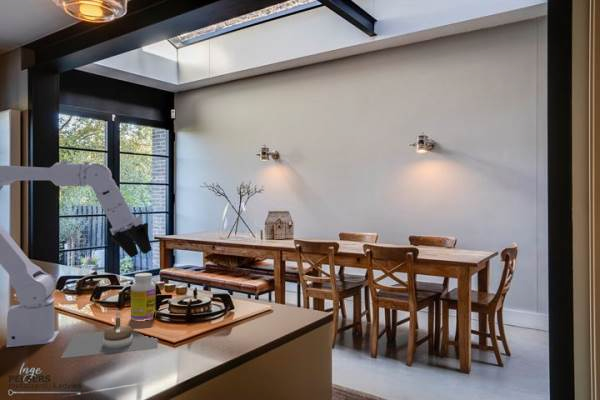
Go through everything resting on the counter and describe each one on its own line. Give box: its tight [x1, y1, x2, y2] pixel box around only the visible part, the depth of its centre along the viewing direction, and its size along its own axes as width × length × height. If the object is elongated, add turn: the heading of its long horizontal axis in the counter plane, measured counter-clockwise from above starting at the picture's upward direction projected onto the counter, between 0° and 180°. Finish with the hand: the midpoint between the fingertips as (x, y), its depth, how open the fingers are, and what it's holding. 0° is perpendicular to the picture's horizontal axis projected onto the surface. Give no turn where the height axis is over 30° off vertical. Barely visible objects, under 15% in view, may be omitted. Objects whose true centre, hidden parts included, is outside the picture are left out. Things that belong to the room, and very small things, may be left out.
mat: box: [60, 330, 159, 359], centre depth 102 cm, size 20×16×1 cm
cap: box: [103, 310, 133, 341], centre depth 103 cm, size 12×6×4 cm, turn 23°
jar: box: [103, 335, 132, 348], centre depth 100 cm, size 6×6×2 cm
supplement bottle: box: [130, 272, 157, 321], centre depth 120 cm, size 7×7×13 cm
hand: (141, 253), depth 109 cm, fingers open, 7 cm apart
